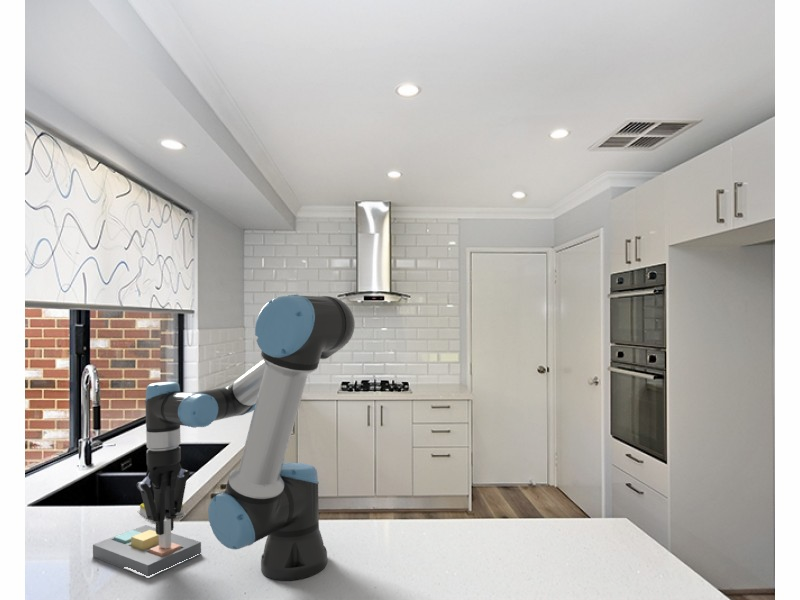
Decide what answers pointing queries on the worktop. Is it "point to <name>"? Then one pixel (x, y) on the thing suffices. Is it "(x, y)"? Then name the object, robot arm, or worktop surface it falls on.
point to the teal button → (126, 536)
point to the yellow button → (145, 540)
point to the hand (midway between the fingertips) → (165, 546)
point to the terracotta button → (164, 550)
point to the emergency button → (143, 513)
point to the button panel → (144, 553)
